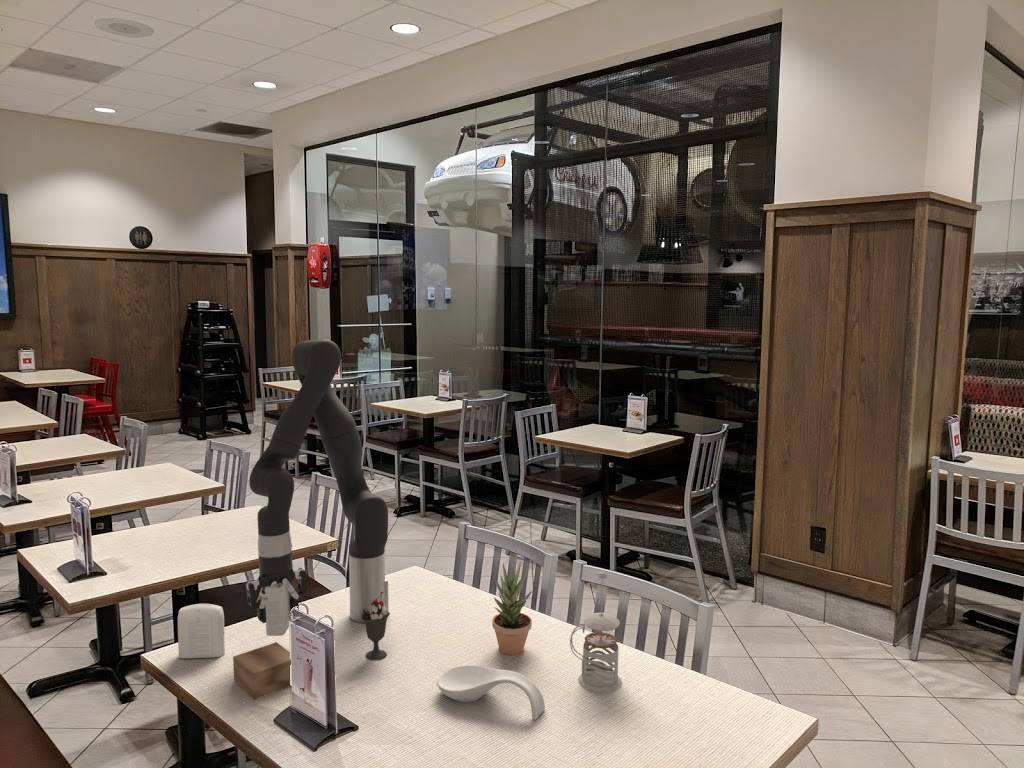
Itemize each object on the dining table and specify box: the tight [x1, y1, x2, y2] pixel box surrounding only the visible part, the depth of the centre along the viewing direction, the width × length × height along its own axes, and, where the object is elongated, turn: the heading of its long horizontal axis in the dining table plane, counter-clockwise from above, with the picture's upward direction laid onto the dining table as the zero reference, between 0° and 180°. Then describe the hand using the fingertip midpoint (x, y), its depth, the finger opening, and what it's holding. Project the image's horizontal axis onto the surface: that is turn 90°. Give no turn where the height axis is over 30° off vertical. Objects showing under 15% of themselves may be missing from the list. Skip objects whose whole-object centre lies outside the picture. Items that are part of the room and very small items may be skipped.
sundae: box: [361, 592, 391, 661], centre depth 172 cm, size 7×7×15 cm
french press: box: [569, 571, 623, 694], centre depth 161 cm, size 10×12×25 cm
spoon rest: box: [436, 664, 546, 721], centre depth 154 cm, size 24×12×7 cm, turn 64°
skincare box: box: [264, 583, 291, 637], centre depth 174 cm, size 6×4×12 cm
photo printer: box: [177, 603, 226, 659], centre depth 172 cm, size 10×4×12 cm, turn 98°
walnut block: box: [232, 641, 291, 700], centre depth 160 cm, size 10×10×6 cm
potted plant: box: [491, 549, 533, 655], centre depth 176 cm, size 10×10×25 cm
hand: (278, 617), depth 174 cm, fingers closed on skincare box, 6 cm apart
